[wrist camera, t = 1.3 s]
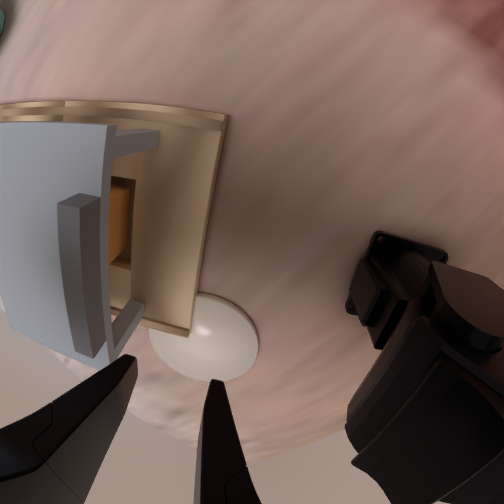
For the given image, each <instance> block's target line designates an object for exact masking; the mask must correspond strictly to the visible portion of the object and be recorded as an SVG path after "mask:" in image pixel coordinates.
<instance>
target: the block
mask: <svg viewBox="0 0 504 504" xmlns="http://www.w3.org/2000/svg"><path fill="white" fill-rule="evenodd" d="M129 197H130V188H127V187H122V186H117V185H110V201H109V228H108V265H109V264H110V263H111V262H112V261H113V260H114V259H115V258H116V257H117V256H118V255H119V254H120V253H121V252H122V251H124V250H125V249H126V248H127V227H128V210H129Z"/></svg>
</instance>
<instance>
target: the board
mask: <svg viewBox="0 0 504 504" xmlns="http://www.w3.org/2000/svg"><path fill="white" fill-rule="evenodd" d="M228 117H229V115H226V114H220V113H214V112H208V111H201V110H194V109H187V108H179V107H171V106H162V105H151V104H140V103H125V102H106V101H45V102H27V103H14V104H3V105H0V122H4V121H64V122H85V123H100V124H113V125H117V128H116V131H122V130H131V129H150V130H158V131H160V133H159V140H158V146H157V148H153V149H149V150H145V151H141V152H137V153H133V154H130V155H126V156H122V157H119V158H115V159H113V161H112V172H111V185H117V186H122V187H127V188H130V197H129V210H128V227H127V248H126V249H125V250H124V251H122V252H121V253H120V254H119V255H118V256H117V257H116V258H115V259H114V260H113V261H112V262H111V263H110V264H109V265H108V267H109V294H110V310H111V316H113V317H117V316H118V314H119V313H120V312H121V310H122V309H123V308H124V306H125V305H126V303H127V302H128V301H129V299H131V300H135V301H138V302H141V303H144V315H143V317H142V319H141V320H140V322H139V323H138V325H142V326H145V327H148V328H152V329H155V330H158V331H162V332H165V333H169V334H173V335H176V336H180V337H184V338H187V339H188V338H189V335H190V332H191V324H192V316H193V308H194V301H195V297H196V295H197V292H198V285H199V278H200V271H201V265H202V258H203V252H204V245H205V239H206V233H207V227H208V221H209V215H210V210H211V204H212V198H213V193H214V187H215V182H216V176H217V171H218V166H219V161H220V156H221V151H222V146H223V141H224V136H225V131H226V126H227V122H228Z"/></svg>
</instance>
